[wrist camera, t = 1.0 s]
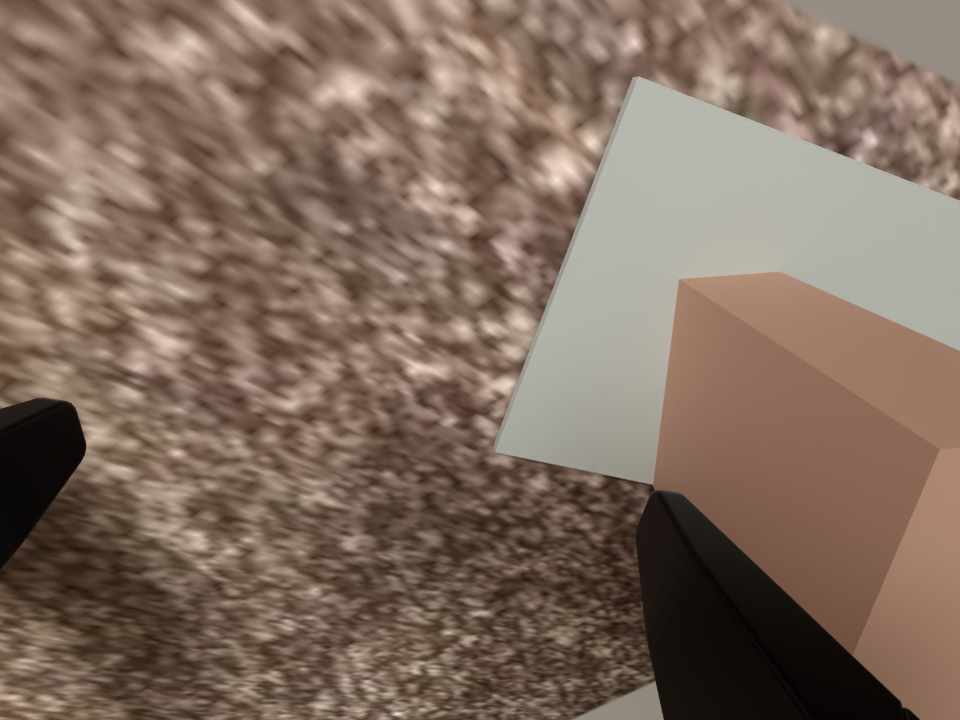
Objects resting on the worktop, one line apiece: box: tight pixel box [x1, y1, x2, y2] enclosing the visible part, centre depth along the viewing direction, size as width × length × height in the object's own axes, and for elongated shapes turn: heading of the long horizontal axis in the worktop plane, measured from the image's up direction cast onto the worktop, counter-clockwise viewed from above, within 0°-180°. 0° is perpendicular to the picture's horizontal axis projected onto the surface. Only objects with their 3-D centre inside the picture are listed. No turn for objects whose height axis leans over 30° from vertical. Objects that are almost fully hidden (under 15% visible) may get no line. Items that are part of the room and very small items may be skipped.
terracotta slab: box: [653, 272, 960, 720], centre depth 17 cm, size 4×10×11 cm, turn 3°
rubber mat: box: [494, 76, 960, 485], centre depth 21 cm, size 15×22×1 cm
